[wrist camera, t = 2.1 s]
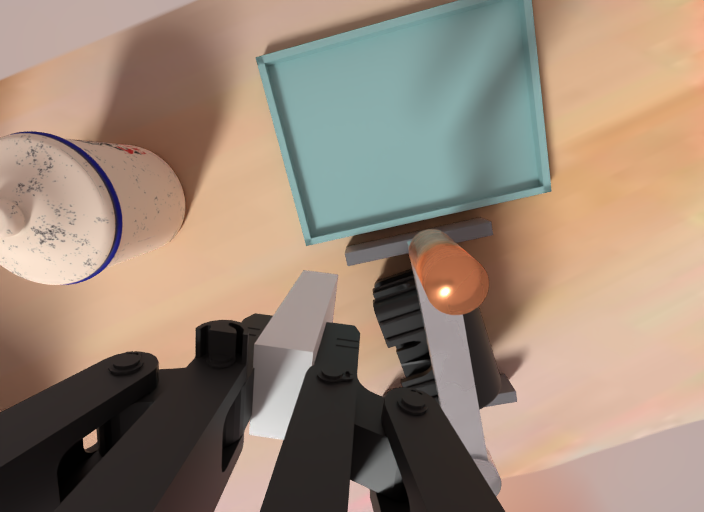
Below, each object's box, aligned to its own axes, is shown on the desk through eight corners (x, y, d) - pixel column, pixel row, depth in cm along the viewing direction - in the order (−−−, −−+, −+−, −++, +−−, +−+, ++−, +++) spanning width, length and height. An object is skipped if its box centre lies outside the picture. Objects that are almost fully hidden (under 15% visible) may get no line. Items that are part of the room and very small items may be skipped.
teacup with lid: (161, 125, 28) (19, 96, 17) (208, 234, 30) (110, 275, 18) (32, 175, 29) (-179, 180, 18) (85, 276, 31) (-76, 337, 20)
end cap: (484, 353, 31) (515, 402, 25) (407, 376, 32) (417, 429, 26) (452, 248, 29) (476, 272, 23) (370, 276, 30) (371, 306, 24)
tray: (308, 242, 30) (306, 245, 28) (260, 62, 26) (255, 57, 25) (543, 190, 28) (551, 191, 26) (521, -11, 25) (529, -20, 23)
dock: (386, 410, 33) (391, 483, 25) (346, 246, 29) (338, 273, 22) (507, 390, 32) (549, 459, 24) (480, 217, 28) (521, 235, 21)
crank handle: (447, 482, 25) (480, 613, 18) (395, 230, 21) (409, 265, 14) (493, 475, 25) (547, 606, 17) (449, 218, 21) (494, 247, 13)
